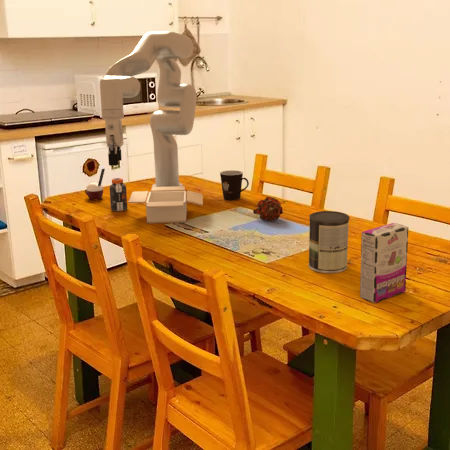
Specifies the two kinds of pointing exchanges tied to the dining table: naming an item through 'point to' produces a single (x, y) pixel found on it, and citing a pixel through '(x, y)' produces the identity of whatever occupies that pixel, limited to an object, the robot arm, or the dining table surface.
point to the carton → (163, 204)
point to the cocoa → (95, 188)
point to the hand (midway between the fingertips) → (115, 162)
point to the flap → (194, 198)
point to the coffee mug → (232, 184)
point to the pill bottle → (118, 195)
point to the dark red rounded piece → (268, 209)
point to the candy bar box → (383, 262)
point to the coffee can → (328, 241)
